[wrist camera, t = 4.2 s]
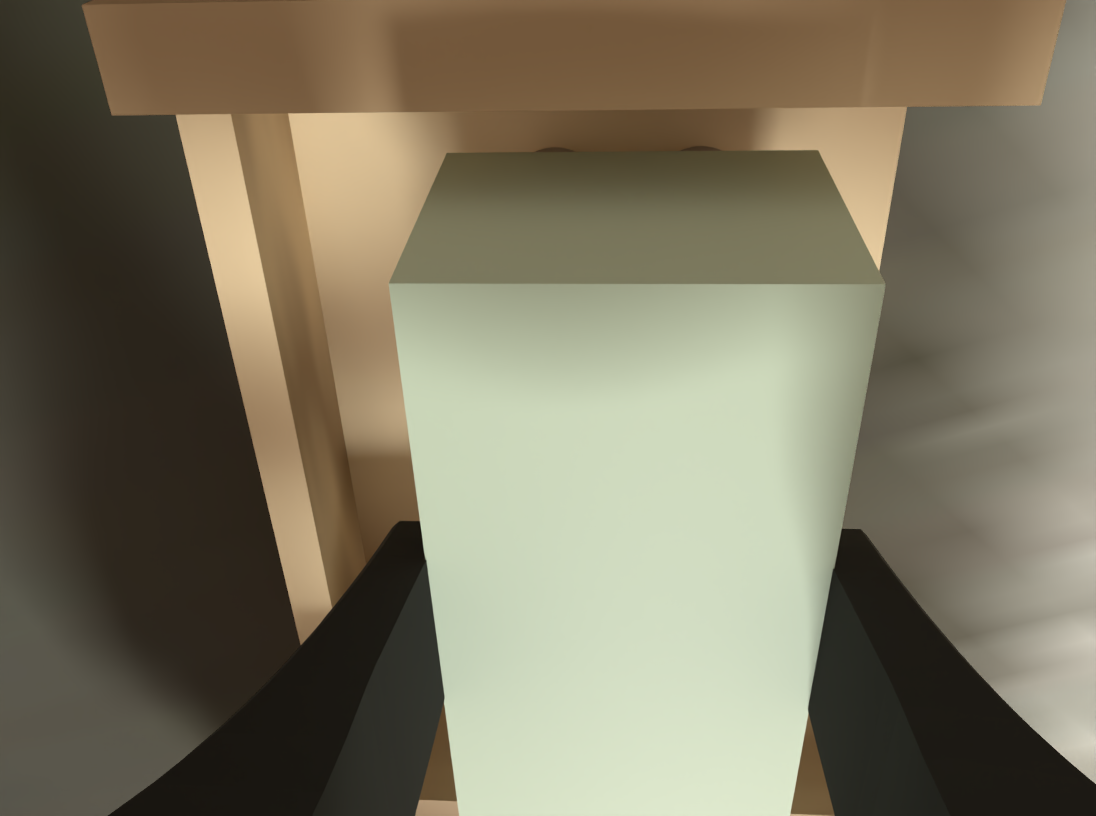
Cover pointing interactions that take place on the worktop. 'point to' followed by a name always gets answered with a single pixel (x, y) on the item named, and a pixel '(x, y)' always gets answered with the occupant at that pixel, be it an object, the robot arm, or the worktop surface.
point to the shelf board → (632, 467)
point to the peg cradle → (484, 127)
